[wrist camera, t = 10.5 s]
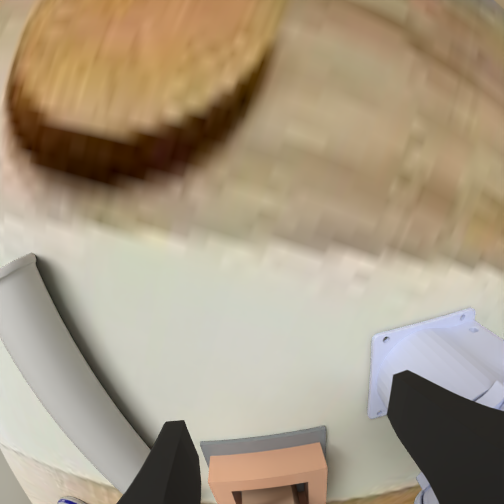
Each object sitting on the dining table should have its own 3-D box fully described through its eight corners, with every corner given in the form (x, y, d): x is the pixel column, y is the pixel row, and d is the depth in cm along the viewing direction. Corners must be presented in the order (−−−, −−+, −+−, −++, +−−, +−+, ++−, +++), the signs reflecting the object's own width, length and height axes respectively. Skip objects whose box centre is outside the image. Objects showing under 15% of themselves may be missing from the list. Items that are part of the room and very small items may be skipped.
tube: (204, 516, 20) (18, 256, 14) (153, 533, 18) (-39, 292, 13) (191, 479, 25) (43, 248, 19) (147, 496, 23) (-8, 278, 18)
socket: (324, 425, 22) (334, 454, 19) (323, 497, 25) (329, 521, 21) (200, 441, 22) (196, 471, 19) (227, 510, 24) (227, 534, 21)
